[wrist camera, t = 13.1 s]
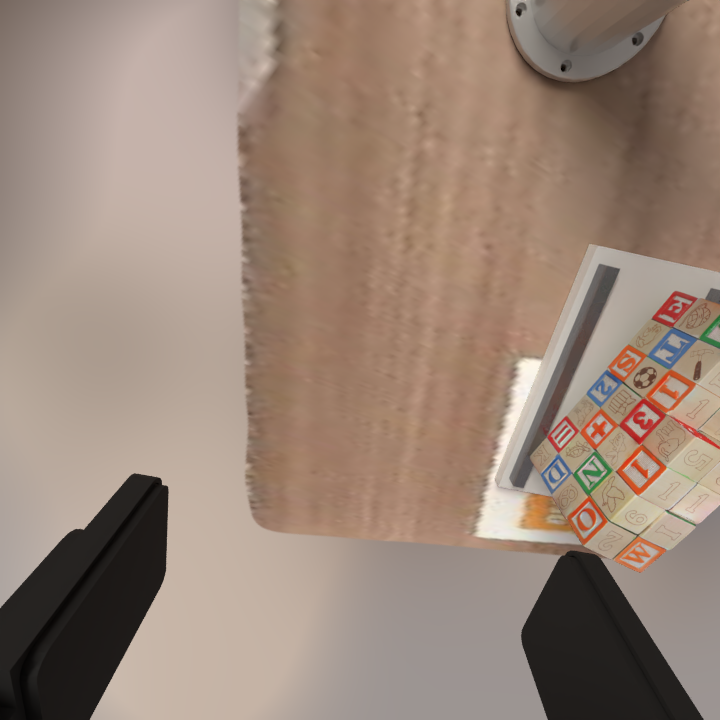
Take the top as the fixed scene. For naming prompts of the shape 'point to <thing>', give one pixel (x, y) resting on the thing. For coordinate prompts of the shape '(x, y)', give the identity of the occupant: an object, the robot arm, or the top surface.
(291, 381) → the top surface
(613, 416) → the stack of blocks
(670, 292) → the base board
